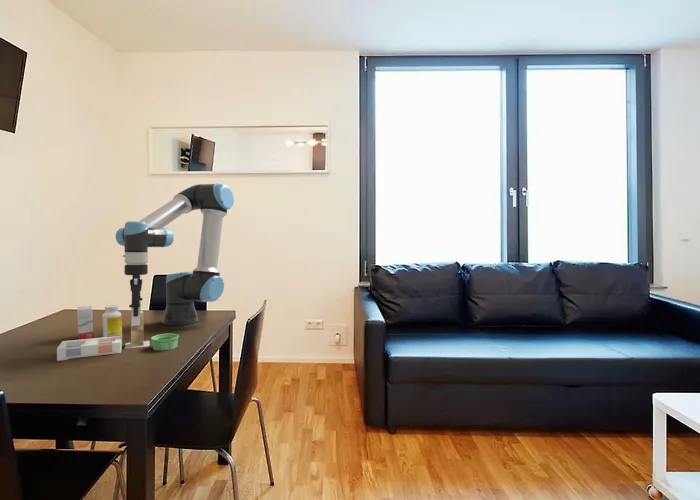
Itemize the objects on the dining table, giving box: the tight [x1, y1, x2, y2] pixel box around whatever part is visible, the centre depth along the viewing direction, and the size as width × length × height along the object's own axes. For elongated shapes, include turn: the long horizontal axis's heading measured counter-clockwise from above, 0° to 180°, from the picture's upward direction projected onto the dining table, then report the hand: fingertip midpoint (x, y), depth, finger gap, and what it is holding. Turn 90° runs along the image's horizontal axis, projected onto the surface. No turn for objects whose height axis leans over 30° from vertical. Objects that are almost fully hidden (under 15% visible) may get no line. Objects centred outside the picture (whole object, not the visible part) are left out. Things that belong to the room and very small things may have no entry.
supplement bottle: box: [101, 304, 123, 337], centre depth 161 cm, size 7×7×13 cm
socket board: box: [56, 335, 123, 362], centre depth 142 cm, size 18×10×4 cm, turn 116°
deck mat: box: [124, 340, 151, 350], centre depth 152 cm, size 8×8×1 cm
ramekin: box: [150, 333, 179, 352], centre depth 148 cm, size 9×9×4 cm
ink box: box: [76, 305, 94, 340], centre depth 162 cm, size 9×5×12 cm, turn 34°
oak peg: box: [130, 310, 145, 346], centre depth 151 cm, size 4×4×12 cm
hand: (136, 321), depth 151 cm, fingers open, 13 cm apart
